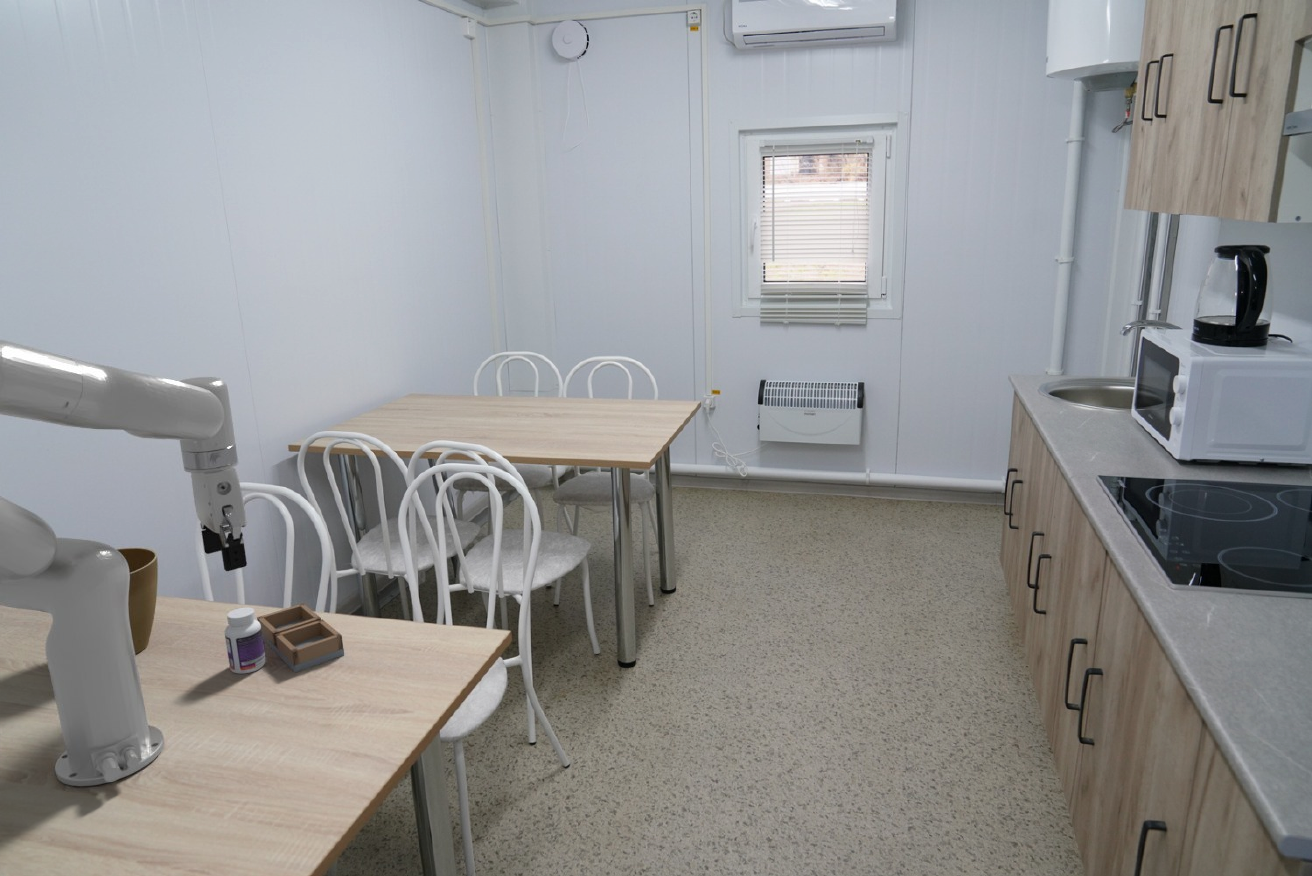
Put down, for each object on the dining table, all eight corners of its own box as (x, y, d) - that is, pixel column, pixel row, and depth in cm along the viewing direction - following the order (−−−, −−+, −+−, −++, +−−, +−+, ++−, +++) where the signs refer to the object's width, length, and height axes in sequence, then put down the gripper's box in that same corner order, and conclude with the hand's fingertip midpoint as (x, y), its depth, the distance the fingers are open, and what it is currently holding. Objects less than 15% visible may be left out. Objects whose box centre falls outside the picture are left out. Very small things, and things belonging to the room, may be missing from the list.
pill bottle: (272, 658, 141) (265, 605, 139) (254, 675, 136) (246, 620, 134) (242, 657, 142) (234, 604, 140) (223, 673, 137) (214, 619, 134)
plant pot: (142, 622, 155) (127, 541, 151) (188, 642, 147) (175, 557, 143) (52, 657, 142) (34, 570, 138) (98, 681, 135) (80, 589, 131)
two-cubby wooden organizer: (344, 654, 142) (342, 635, 141) (295, 672, 137) (292, 651, 136) (305, 621, 154) (303, 603, 154) (259, 636, 149) (256, 617, 148)
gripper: (255, 463, 127) (269, 568, 131) (218, 442, 139) (232, 539, 143) (201, 474, 122) (217, 582, 126) (167, 451, 134) (184, 551, 138)
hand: (225, 559), depth 135 cm, fingers open, 9 cm apart
